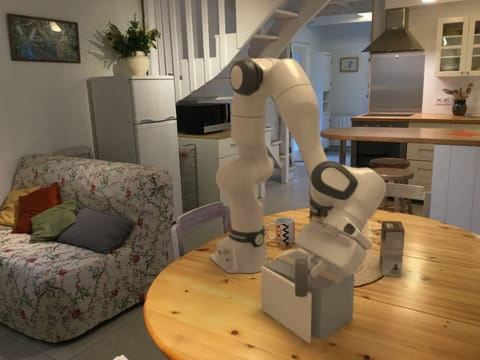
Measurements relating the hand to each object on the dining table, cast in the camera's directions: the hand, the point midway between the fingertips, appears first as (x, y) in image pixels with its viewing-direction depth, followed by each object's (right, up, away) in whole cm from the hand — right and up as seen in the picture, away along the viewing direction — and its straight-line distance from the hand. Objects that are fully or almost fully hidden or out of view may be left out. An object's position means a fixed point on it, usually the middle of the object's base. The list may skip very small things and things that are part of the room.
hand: (308, 273), depth 102 cm
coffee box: (+34, -8, +41) cm, 54 cm away
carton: (+2, -15, +16) cm, 22 cm away
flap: (-6, -16, +9) cm, 19 cm away
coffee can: (+18, +1, +78) cm, 80 cm away
